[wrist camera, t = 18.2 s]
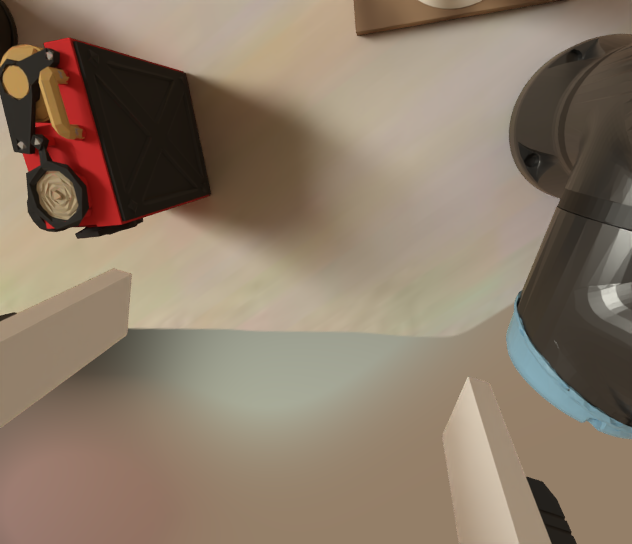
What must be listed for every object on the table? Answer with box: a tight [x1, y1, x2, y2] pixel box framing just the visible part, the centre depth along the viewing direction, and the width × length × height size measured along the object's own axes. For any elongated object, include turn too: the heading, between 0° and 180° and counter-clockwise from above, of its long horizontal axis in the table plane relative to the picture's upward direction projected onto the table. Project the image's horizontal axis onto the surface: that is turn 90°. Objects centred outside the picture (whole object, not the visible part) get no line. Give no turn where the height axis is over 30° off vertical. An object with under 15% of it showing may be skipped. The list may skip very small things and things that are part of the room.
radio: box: [0, 38, 211, 239], centre depth 40 cm, size 16×10×20 cm, turn 8°
